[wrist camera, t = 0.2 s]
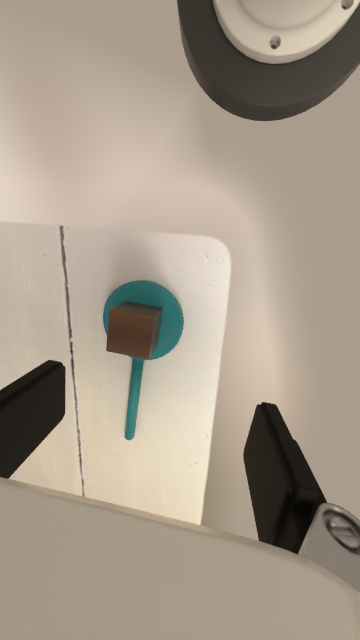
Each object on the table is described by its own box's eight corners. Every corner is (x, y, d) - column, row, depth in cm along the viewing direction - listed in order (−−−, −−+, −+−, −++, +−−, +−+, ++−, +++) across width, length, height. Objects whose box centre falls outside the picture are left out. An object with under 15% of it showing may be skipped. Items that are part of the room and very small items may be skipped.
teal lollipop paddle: (108, 274, 24) (103, 274, 23) (189, 288, 23) (189, 289, 22) (98, 427, 30) (93, 434, 28) (163, 442, 29) (161, 450, 28)
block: (125, 300, 24) (109, 308, 20) (163, 307, 23) (154, 316, 19) (122, 336, 25) (106, 351, 21) (158, 343, 25) (149, 359, 21)
